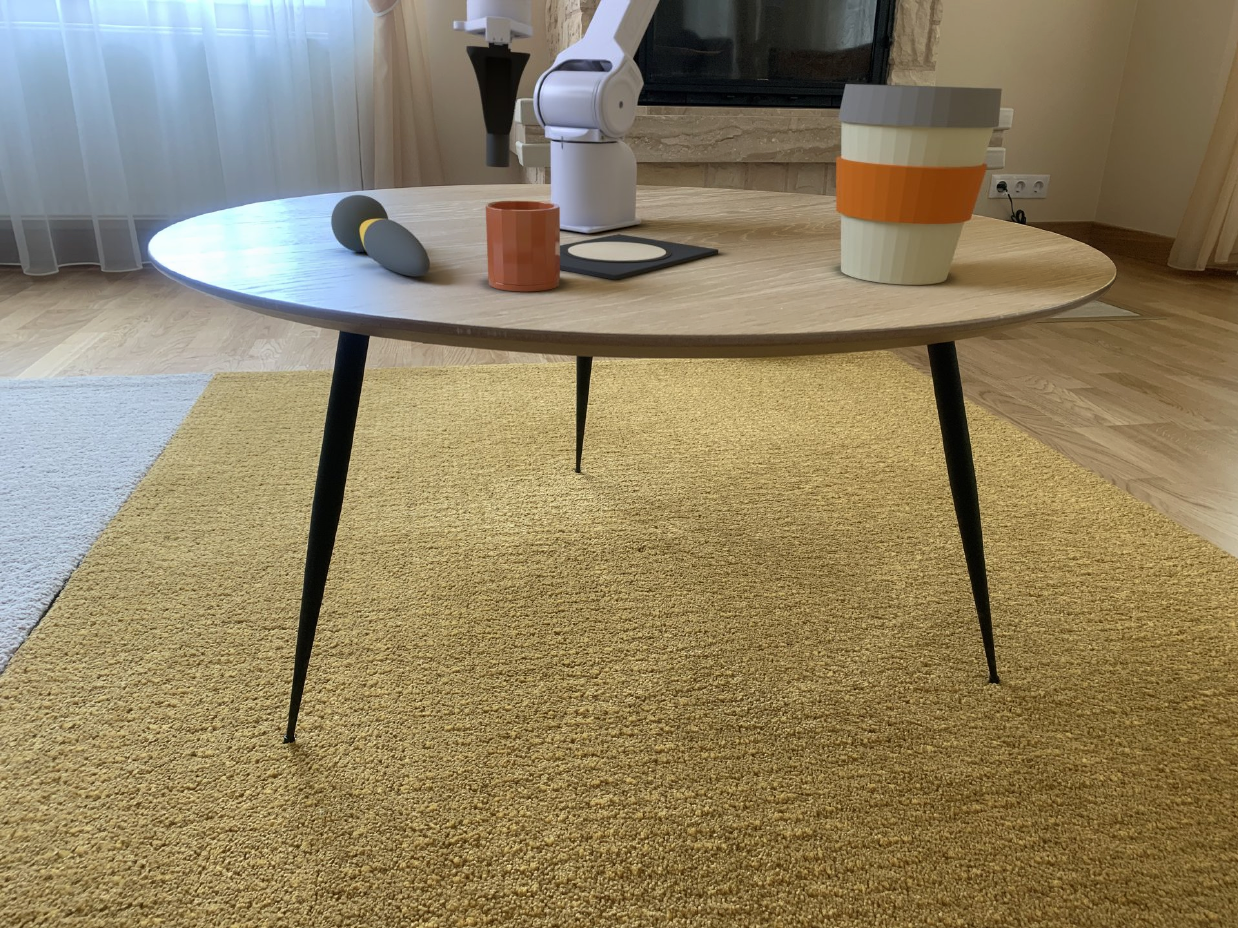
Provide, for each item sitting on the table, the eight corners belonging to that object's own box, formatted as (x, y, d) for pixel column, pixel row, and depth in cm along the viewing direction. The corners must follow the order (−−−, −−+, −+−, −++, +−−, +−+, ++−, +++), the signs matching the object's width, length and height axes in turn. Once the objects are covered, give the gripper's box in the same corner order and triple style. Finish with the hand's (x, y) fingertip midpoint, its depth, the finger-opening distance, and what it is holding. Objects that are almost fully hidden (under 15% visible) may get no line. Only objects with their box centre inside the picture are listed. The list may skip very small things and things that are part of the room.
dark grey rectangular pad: (618, 238, 89) (618, 232, 89) (718, 253, 82) (718, 247, 82) (508, 260, 77) (508, 253, 77) (615, 280, 71) (615, 273, 70)
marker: (498, 165, 84) (498, 63, 81) (514, 167, 83) (516, 64, 79) (480, 165, 82) (480, 61, 79) (497, 167, 81) (497, 62, 78)
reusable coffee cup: (994, 290, 70) (1035, 90, 64) (842, 288, 70) (869, 85, 64) (935, 260, 82) (965, 87, 76) (804, 258, 81) (824, 83, 75)
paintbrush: (468, 279, 70) (465, 215, 68) (411, 286, 67) (405, 220, 65) (368, 241, 84) (363, 187, 82) (317, 246, 81) (310, 191, 79)
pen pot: (522, 273, 72) (521, 198, 70) (574, 283, 69) (574, 205, 67) (473, 284, 68) (470, 205, 66) (525, 295, 65) (524, 213, 63)
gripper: (457, -23, 83) (459, 129, 88) (447, -49, 69) (450, 133, 74) (532, -17, 84) (529, 133, 89) (536, -41, 70) (533, 138, 75)
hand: (498, 134), depth 82 cm, fingers closed on marker, 2 cm apart
